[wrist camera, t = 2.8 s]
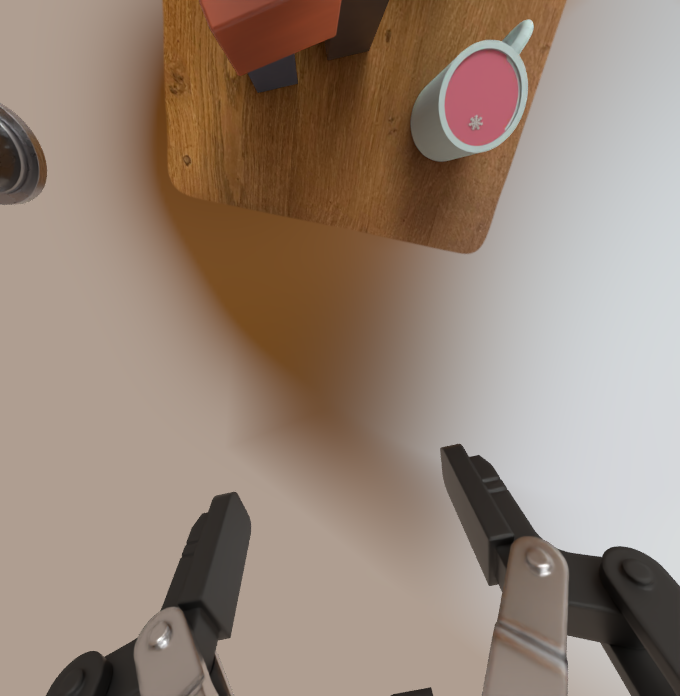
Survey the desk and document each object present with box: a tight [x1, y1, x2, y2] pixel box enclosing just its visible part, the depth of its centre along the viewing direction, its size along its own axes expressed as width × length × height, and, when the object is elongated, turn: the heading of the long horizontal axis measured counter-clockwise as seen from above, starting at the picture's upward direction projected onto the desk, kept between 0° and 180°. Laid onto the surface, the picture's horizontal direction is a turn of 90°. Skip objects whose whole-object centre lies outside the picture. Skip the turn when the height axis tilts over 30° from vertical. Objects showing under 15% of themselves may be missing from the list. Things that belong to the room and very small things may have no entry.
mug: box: [411, 20, 534, 162], centre depth 36 cm, size 14×9×10 cm
